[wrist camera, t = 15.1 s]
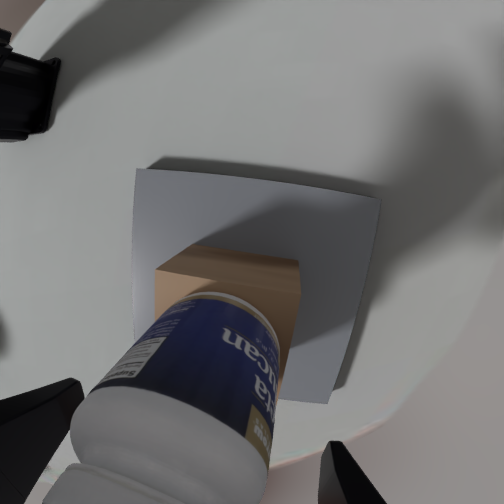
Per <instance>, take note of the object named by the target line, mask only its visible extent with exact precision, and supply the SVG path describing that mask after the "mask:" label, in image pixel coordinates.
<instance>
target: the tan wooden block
mask: <svg viewBox="0 0 504 504" xmlns="http://www.w3.org/2000/svg"><path fill="white" fill-rule="evenodd" d="M199 292H220V293H225V294H229V295H233V296H235V297H238V298H240V299H242V300H244V301H246V302H248V303H249V304H251V305H252V306H253V307H255V308H256V309H257V310H258V311H259V312H261V313H262V314H263V315H264V316H265V318H266V319H267V320H268V321H269V323H270V324H271V326H272V327H273V329H274V331H275V333H276V336H277V339H278V343H279V348H280V366H279V376H278V388H277V398H276V404H277V400H278V396H279V392H280V388H281V384H282V380H283V376H284V372H285V368H286V363H287V359H288V354H289V350H290V346H291V341H292V336H293V332H294V327H295V322H296V318H297V313H298V308H299V303H300V298H301V285H300V273H299V262H298V260H294V259H287V258H281V257H274V256H268V255H261V254H254V253H248V252H241V251H235V250H228V249H222V248H215V247H209V246H202V245H196V244H192V245H190V246H189V247H187V248H186V249H184V250H183V251H181V252H180V253H178V254H177V255H175V256H174V257H172V258H171V259H169V260H168V261H166V262H165V263H163V264H162V265H160V266H159V267H158V268H156V269H155V321H156V320H157V319H158V318H159V317H160V316H161V315H162V314H163V313H164V312H165V311H166V310H167V309H168V308H169V307H170V306H171V305H172V304H174V303H175V302H176V301H178V300H180V299H181V298H184V297H186V296H188V295H191V294H195V293H199Z"/></svg>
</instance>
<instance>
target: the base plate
mask: <svg viewBox="0 0 504 504" xmlns="http://www.w3.org/2000/svg"><path fill="white" fill-rule="evenodd" d="M380 206H381V199H377V198H372V197H367V196H362V195H357V194H351V193H346V192H340V191H335V190H329V189H323V188H317V187H311V186H304V185H298V184H291V183H284V182H277V181H270V180H262V179H254V178H246V177H237V176H228V175H219V174H208V173H197V172H186V171H172V170H157V169H137V168H136V179H135V191H134V206H133V227H132V304H133V325H134V340H135V343H136V342H137V341H138V340H139V339H140V337H141V336H142V335H143V334H144V333H145V332H146V331H147V330H148V329H149V328H150V327H151V326H152V325H153V324H154V322H155V269H156V268H158V267H159V266H160V265H162V264H163V263H165V262H166V261H168V260H169V259H171V258H172V257H174V256H175V255H177V254H178V253H180V252H181V251H183V250H184V249H186V248H187V247H189V246H190V245H192V244H196V245H202V246H209V247H215V248H222V249H228V250H235V251H241V252H248V253H254V254H261V255H268V256H274V257H281V258H287V259H294V260H298V262H299V273H300V285H301V298H300V303H299V308H298V313H297V318H296V322H295V327H294V332H293V336H292V341H291V346H290V350H289V354H288V359H287V363H286V368H285V372H284V376H283V380H282V384H281V388H280V392H279V396H278V399H284V400H292V401H301V402H310V403H321V404H328V401H329V398H330V396H331V393H332V390H333V387H334V385H335V382H336V379H337V376H338V373H339V370H340V367H341V364H342V361H343V358H344V355H345V352H346V349H347V346H348V343H349V339H350V336H351V333H352V329H353V326H354V322H355V319H356V315H357V312H358V308H359V304H360V300H361V297H362V293H363V289H364V285H365V281H366V276H367V272H368V268H369V263H370V259H371V254H372V249H373V245H374V240H375V234H376V229H377V224H378V218H379V212H380Z"/></svg>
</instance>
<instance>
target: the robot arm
mask: <svg viewBox="0 0 504 504" xmlns="http://www.w3.org/2000/svg"><path fill="white" fill-rule="evenodd" d="M11 34H12V33H11V32H10V31H7V30H4V29H1V28H0V142H17V141H24V140H26V139H27V138H28V135H34V134H41V133H44V132H45V131H46V130H47V126H48V120H49V113H50V108H51V102H52V97H53V92H54V88H55V83H56V79H57V75H58V71H59V67H60V63H61V60H60V59H59V58H52V59H50V60H47V61H44V62H43V61H40V60H37V59H34V58H31V57H27V56H24V55H21V54H18V53H15V52H12V50H13V48H12V47H11V46H10V45H9V42H10V37H11ZM84 398H85V397H84V393H83V389H82V385H81V383H80V381H78V380H76V379H74V378H67V379H65V380H62V381H59V382H56V383H53V384H50V385H47V386H44V387H41V388H38V389H35V390H32V391H28V392H25V393H22V394H19V395H16V396H12V397H9V398H6V399H2V400H0V504H24V503H25V501H26V499H27V497H28V495H29V494H30V492H31V490H32V489H33V487H34V485H35V484H36V482H37V481H38V479H39V477H40V476H41V474H42V472H43V471H44V469H45V467H46V466H47V464H48V463H49V461H50V460H51V458H52V456H53V455H54V453H55V452H56V450H57V449H58V447H59V445H60V444H61V442H62V441H63V439H64V438H65V436H66V435H67V433H68V431H69V430H70V424H71V420H72V416H73V414H74V412H75V410H76V409H77V407H78V406H79V405H80V404H81V403H82V401H83V400H84ZM318 504H387V503H386V502H385V501H384V499H383V498H382V496H381V495H380V494H379V492H378V491H377V490H376V488H375V487H374V486H373V484H372V483H371V482H370V480H369V479H368V477H367V476H366V475H365V473H364V472H363V471H362V469H361V468H360V466H359V465H358V464H357V462H356V461H355V460H354V458H353V457H352V456H351V454H350V453H349V451H348V450H347V449H346V447H345V446H344V444H343V443H342V442H341V441H329V442H328V444H327V446H326V448H325V450H324V452H323V454H322V457H321V467H320V479H319V490H318Z"/></svg>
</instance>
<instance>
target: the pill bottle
mask: <svg viewBox="0 0 504 504" xmlns="http://www.w3.org/2000/svg"><path fill="white" fill-rule="evenodd" d="M279 366H280V348H279V343H278V339H277V336H276V333H275V331H274V329H273V327H272V326H271V324H270V323H269V321H268V320H267V319H266V318H265V316H264V315H263V314H262V313H261V312H259V311H258V310H257V309H256V308H255V307H253V306H252V305H251V304H249V303H248V302H246V301H244V300H242V299H240V298H238V297H235V296H233V295H229V294H225V293H220V292H199V293H195V294H191V295H188V296H186V297H184V298H181V299H180V300H178V301H176V302H175V303H174V304H172V305H171V306H170V307H169V308H168V309H167V310H166V311H165V312H164V313H163V314H162V315H161V316H160V317H159V318H158V319H157V320H156V321H155V322H154V324H153V325H152V326H151V327H150V328H149V329H148V330H147V331H146V332H145V333H144V334H143V335H142V336H141V337H140V339H139V340H138V341H137V342H136V343H135V344H134V345H133V346H132V347H131V348H130V349H129V350H128V351H127V352H126V354H125V355H124V356H123V357H122V358H121V359H120V360H119V361H118V362H117V363H116V365H115V366H114V367H113V368H112V369H111V370H110V371H109V372H108V373H107V374H106V376H105V377H104V378H103V379H102V380H101V381H100V382H99V383H98V384H97V385H96V386H95V387H94V388H93V389H92V390H91V391H90V393H89V394H88V395H87V397H86V398H85V399H84V400H83V401H82V403H81V404H80V405H79V406H78V407H77V409H76V410H75V412H74V414H73V416H72V420H71V424H70V437H71V442H72V446H73V448H74V451H75V453H76V455H77V457H78V459H79V461H80V462H81V463H74V464H71V465H69V466H68V467H67V468H66V470H65V472H63V473H62V474H61V475H60V477H59V478H58V479H57V481H56V482H55V484H54V485H53V486H52V488H51V489H50V491H49V492H48V494H47V495H46V497H45V498H44V499H43V503H42V504H259V503H260V501H261V499H262V497H263V495H264V492H265V487H266V481H267V476H268V470H269V462H270V453H271V446H272V439H273V430H274V423H275V408H276V398H277V388H278V376H279Z"/></svg>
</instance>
